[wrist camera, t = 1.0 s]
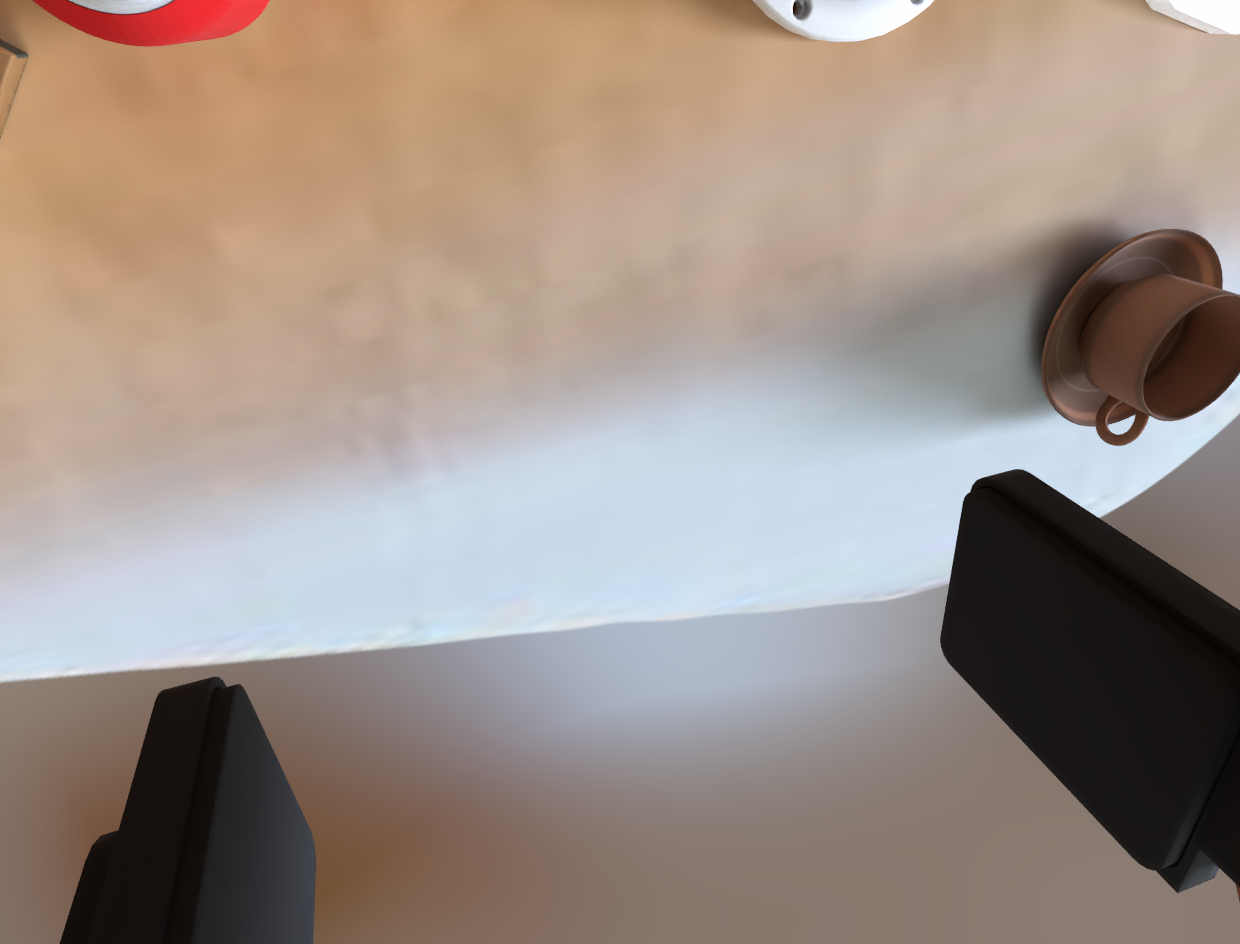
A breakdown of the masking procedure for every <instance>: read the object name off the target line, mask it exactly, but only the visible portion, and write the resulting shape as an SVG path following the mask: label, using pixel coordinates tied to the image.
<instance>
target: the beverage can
mask: <svg viewBox="0 0 1240 944" xmlns="http://www.w3.org/2000/svg"><path fill="white" fill-rule="evenodd" d="M33 1H34V2H35V3H37V4H38V5H39V6H40V7H42V8H43V9H44V10H46V11H47V12H49V13H50V14H52V15H53V16H55V17H57V18H58V19H60V20H61V21H63V22H65V23H67V24H69V25H71V26H72V27H74V28H76V29H78V30H81V31H83V32H85V33H87V34H90V35H92V36H95V37H98V38H101V39H104V40H107V41H112V42H116V43H120V44H126V45H133V46H164V45H171V44H179V43H186V42H193V41H200V40H208V39H215V38H220V37H225V36H228V35H231V34H234V33H236V32H238V31H240V30H242V29H243V28H245V27H247V26H248V25H249V24H251V23H252V22H253V21H254V20H255V19H256V18H257V17H258V16H259V15H260V14H261V13H262V11H263V10H264V9H265V7H266V6H267V4H268V2H269V0H33ZM144 12H145V13H144Z"/></svg>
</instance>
